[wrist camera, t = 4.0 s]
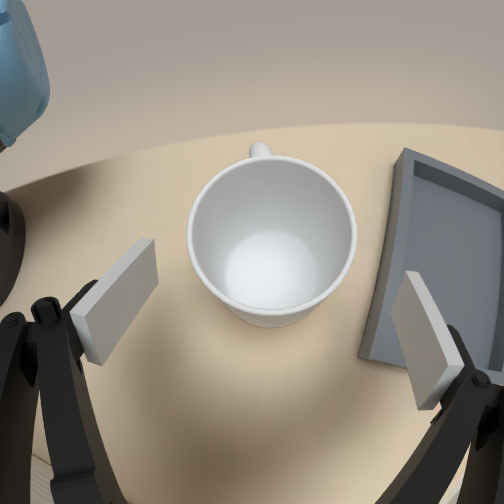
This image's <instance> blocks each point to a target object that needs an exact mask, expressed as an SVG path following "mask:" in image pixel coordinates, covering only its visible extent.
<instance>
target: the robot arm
mask: <svg viewBox="0 0 504 504" xmlns="http://www.w3.org/2000/svg"><path fill="white" fill-rule="evenodd" d="M49 96H50V87H49V79H48V74H47V69H46V65H45V62H44V58H43V54H42V51H41V48H40V45H39V42H38V39H37V36H36V33H35V30H34V27H33V25H32V22H31V19H30V17H29V14H28V12H27V10H26V7H25V5H24V3H23V2H22V1H21V0H0V153H1V152H2V151H3V150H4V149H5V148H6V147H10V146H12V145H13V144H14V142H15V141H16V138H17V137H18V136H19V135H20V134H21V133H22V132H24V131H25V130H26V129H27V128H28V127H29V126H30V125H31V124H33V123H34V122H35V121H36V120H37V119H39V117H40V116H41V115H42V114H43V112H44V111H45V109H46V107H47V105H48V101H49ZM24 236H25V228H24V219H23V215H22V211H21V209H20V207H19V205H18V204H17V203H16V202H15V201H14V200H13V199H12V198H10V197H9V196H7V195H6V194H4V193H3V192H1V191H0V305H1V304H2V303H3V301H4V300H5V299H6V297H7V295H8V294H9V292H10V290H11V288H12V286H13V284H14V281H15V279H16V276H17V273H18V270H19V266H20V263H21V259H22V254H23V247H24ZM157 285H158V275H157V265H156V255H155V244H154V239H147V238H141V239H140V240H139V241H138V242H136V243H135V244H134V245H133V246H132V247H131V248H130V249H129V250H128V251H127V252H126V253H125V254H124V255H123V256H122V257H121V258H120V259H119V260H118V261H117V262H116V263H115V264H114V265H113V266H112V267H111V268H110V269H109V270H108V271H107V272H106V273H105V274H104V276H103V277H102V278H101V279H100V280H93V281H91V282H89V283H87V284H86V285H85V286H84V287H83V288H82V289H81V290H80V292H78V293H77V294H76V295H75V297H73V298H72V299H71V300H70V301H69V302H68V304H67V305H66V306H65V307H64V308H63V309H62V310H61V307H60V304H59V301H58V299H56V298H55V297H44V298H41V299H39V300H37V301H36V302H35V303H34V304H33V305H32V307H31V312H32V315H33V317H34V320H35V322H27V321H26V319H25V317H24V315H23V314H22V313H21V312H13V313H10V314H8V315H7V316H5V317H4V318H3V320H2V321H1V323H0V504H30V500H31V499H30V483H31V457H32V443H33V432H34V423H35V415H36V408H37V401H38V395H39V389H40V399H41V407H42V415H43V422H44V429H45V435H46V440H47V446H48V451H49V456H50V460H51V465H52V469H53V474H54V477H53V479H51V480H50V490H51V494H52V497H53V501H54V504H128V503H127V502H126V500H125V499H124V497H123V495H122V493H121V490H120V488H119V485H118V483H117V480H116V478H115V475H114V473H113V470H112V467H111V465H110V462H109V459H108V456H107V454H106V451H105V448H104V445H103V442H102V439H101V435H100V432H99V429H98V426H97V422H96V419H95V415H94V412H93V408H92V404H91V401H90V397H89V393H88V388H87V384H86V380H85V375H84V371H83V366H82V362H81V360H80V357H81V356H82V354H83V353H85V356H86V358H87V361H88V362H91V363H94V364H97V365H100V366H102V365H103V364H104V362H105V361H106V359H107V358H108V356H109V355H110V353H111V352H112V350H113V349H114V347H115V346H116V344H117V343H118V341H119V340H120V338H121V337H122V335H123V334H124V332H125V331H126V329H127V328H128V326H129V325H130V323H131V322H132V320H133V319H134V317H135V316H136V314H137V313H138V312H139V310H140V309H141V307H142V306H143V304H144V303H145V301H146V300H147V299H148V297H149V296H150V294H151V293H152V292H153V290H154V289H155V287H156V286H157ZM391 316H392V319H393V322H394V325H395V328H396V332H397V335H398V338H399V341H400V345H401V348H402V352H403V355H404V358H405V362H406V366H407V369H408V373H409V377H410V381H411V384H412V388H413V392H414V396H415V401H416V405H417V409H418V411H420V410H433V409H434V408H435V406H436V405H437V404H438V402H439V401H440V404H441V407H442V408H441V410H440V411H439V412H438V414H437V415H436V416H435V417H434V418H433V420H432V421H431V422H430V423H431V426H430V427H429V429H428V431H427V432H426V434H425V436H424V437H423V439H422V440H421V442H420V443H419V445H418V446H417V448H416V449H415V451H414V452H413V454H412V455H411V457H410V458H409V460H408V461H407V463H406V464H405V465H404V467H403V468H402V470H401V471H400V472H399V474H398V475H397V476H396V478H395V479H394V480H393V482H392V483H391V484H390V485H389V487H388V488H387V489H386V490H385V492H384V493H383V494H382V495H381V497H380V498H379V499H378V500H377V501H376V503H375V504H438V503H439V502H440V500H441V498H442V497H443V495H444V493H445V492H446V490H447V488H448V486H449V485H450V483H451V481H452V479H453V477H454V475H455V473H456V472H457V470H458V468H459V466H460V464H461V462H462V460H463V458H464V456H465V453H466V451H467V449H468V447H469V445H470V442H471V445H470V450H469V455H468V460H467V465H466V469H465V474H464V478H463V482H462V486H461V489H460V493H459V497H458V500H457V503H456V504H504V386H501V385H497V384H493V383H491V380H490V378H489V377H488V375H487V374H486V373H484V372H483V371H481V370H479V369H476V368H475V366H474V364H473V361H472V359H471V357H470V355H469V353H468V351H467V348H465V347H466V346H465V344H464V342H462V338H461V336H460V334H459V332H458V331H457V330H456V329H455V328H454V327H453V326H452V325H446V324H445V322H444V320H443V318H442V316H441V314H440V312H439V310H438V308H437V306H436V304H435V302H434V300H433V298H432V296H431V294H430V292H429V291H428V289H427V287H426V285H425V283H424V282H423V280H422V278H421V276H420V274H419V273H418V272H414V271H405V274H404V277H403V280H402V283H401V286H400V288H399V291H398V294H397V297H396V300H395V303H394V305H393V308H392V311H391Z"/></svg>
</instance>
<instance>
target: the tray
mask: <svg viewBox="0 0 504 504" xmlns="http://www.w3.org/2000/svg"><path fill="white" fill-rule="evenodd" d="M405 271H414V272H418V273H419V274H420V276H421V278H422V280H423V282H424V283H425V285H426V287H427V289H428V291H429V292H430V294H431V296H432V298H433V300H434V302H435V304H436V306H437V308H438V310H439V312H440V314H441V316H442V318H443V320H444V322H445V324H446V325H452V326H453V327H454V328H455V329H456V330H457V331H458V332H459V334H460V336H461V338H462V342H464V344H465V346H466V347H465V348H467V351H468V353H469V355H470V357H471V359H472V361H473V364H474V366H475V368H476V369H479V370H481V371H483V372H484V373H486V374H487V375H488V377H489V378H490V380H491V383H493V384H500V385H504V191H503V190H501V189H499V188H497V187H495V186H493V185H491V184H489V183H487V182H485V181H483V180H481V179H479V178H477V177H475V176H472V175H470V174H468V173H466V172H464V171H462V170H459V169H457V168H455V167H453V166H450V165H448V164H446V163H443V162H441V161H438V160H436V159H434V158H431V157H429V156H426V155H423V154H421V153H418V152H416V151H413V150H410V149H408V148H405V147H404V149H403V151H402V153H401V154H400V156H399V158H398V159H397V161H396V163H395V165H394V173H393V182H392V190H391V198H390V206H389V213H388V220H387V226H386V233H385V239H384V244H383V250H382V255H381V261H380V266H379V271H378V276H377V280H376V285H375V290H374V294H373V299H372V303H371V307H370V311H369V315H368V319H367V323H366V327H365V331H364V335H363V338H362V342H361V346H360V349H359V353H358V356H357V357H359V358H363V359H367V360H371V361H376V362H380V363H384V364H388V365H393V366H397V367H402V368H406V369H407V366H406V362H405V358H404V355H403V352H402V348H401V345H400V341H399V338H398V335H397V332H396V328H395V325H394V322H393V319H392V316H391V311H392V308H393V305H394V303H395V300H396V297H397V294H398V291H399V288H400V286H401V283H402V280H403V277H404V274H405Z"/></svg>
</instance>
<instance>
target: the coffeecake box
mask: <svg viewBox="0 0 504 504" xmlns="http://www.w3.org/2000/svg"><path fill="white" fill-rule="evenodd" d="M53 477H54V474H53V469H52V466H50V465H48V464H47V463H45V462H44V461H42V460H40V459H39V458H37V457H35V456H34V455H32V457H31V483H30V499H31V500H30V504H54V501H53V497H52V494H51V490H50V480H51V479H53ZM128 504H129V503H128Z"/></svg>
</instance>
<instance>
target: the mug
mask: <svg viewBox="0 0 504 504" xmlns="http://www.w3.org/2000/svg"><path fill="white" fill-rule="evenodd" d="M249 155H250V158H248V159H244V160H242V161H239V162H237V163H234V164H232V165H230V166H228V167H226V168H225V169H223V170H222V171H220V172H219V173H218V174H216V175H215V176H214V177H213V178H212V179H211V180H210V181H209V182H208V183H207V184H206V185H205V186H204V187H203V189H202V190H201V192H200V193H199V194H198V196H197V198H196V200H195V202H194V204H193V206H192V209H191V212H190V214H189V218H188V223H187V233H186V239H187V248H188V253H189V257H190V260H191V263H192V265H193V268H194V270H195V272H196V273H197V275H198V277H199V278H200V280H201V281H202V282H203V284H204V285H205V286H206V287H207V288H208V289H209V290H210V291H211V292H212V293H213V294H214V295H215V296H216V297H217V298H218V299H219V300H220V301H221V302H222V303H223V304H224V305H226V306H227V307H228V308H229V309H230V310H231V311H232V312H233V313H234V314H236V315H237V316H238V317H240V318H241V319H243V320H244V321H246V322H248V323H251V324H253V325H256V326H261V327H268V328H276V327H283V326H287V325H290V324H293V323H295V322H297V321H299V320H301V319H302V318H304V317H306V316H307V315H308V314H309V313H310V312H311V311H313V310H314V309H315V308H316V307H317V306H318V305H319V304H320V303H321V302H323V301H324V300H325V299H326V298H327V297H328V296H329V295H330V294H331V293H332V292H333V291H334V290H335V289H336V288H337V287H338V286H339V285H340V284H341V282H342V281H343V279H344V278H345V276H346V275H347V273H348V271H349V269H350V267H351V265H352V263H353V259H354V256H355V252H356V246H357V226H356V220H355V216H354V213H353V210H352V207H351V205H350V203H349V200H348V199H347V197H346V195H345V194H344V192H343V191H342V189H341V188H340V187H339V186H338V184H337V183H336V182H335V181H334V180H333V179H332V178H331V177H330V176H328V175H327V174H326V173H324V172H323V171H322V170H320V169H318V168H317V167H315V166H313V165H311V164H309V163H307V162H305V161H302V160H299V159H296V158H291V157H286V156H277V155H273V153H272V150H271V148H270V147H269V145H268V144H266V143H264V142H256V143H254V144H253V145H251V147H250V150H249Z"/></svg>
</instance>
